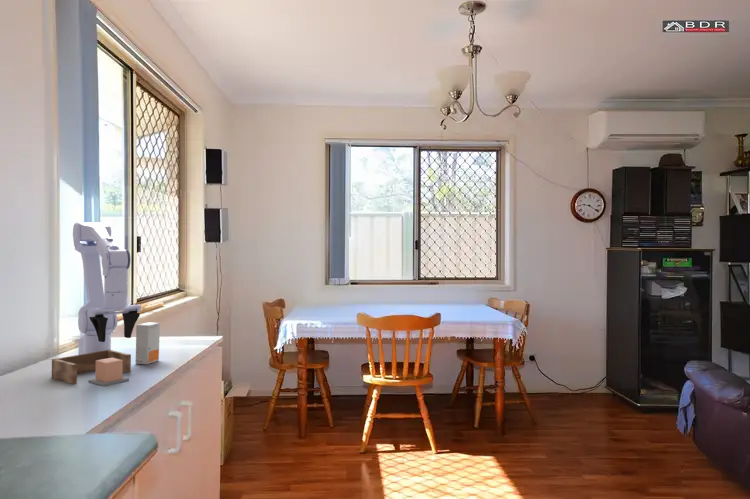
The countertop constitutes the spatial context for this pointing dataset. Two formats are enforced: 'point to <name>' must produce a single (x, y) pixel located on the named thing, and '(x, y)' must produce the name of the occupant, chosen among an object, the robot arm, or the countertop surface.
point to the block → (109, 369)
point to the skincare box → (147, 342)
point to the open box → (85, 364)
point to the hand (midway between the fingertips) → (114, 339)
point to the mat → (108, 382)
